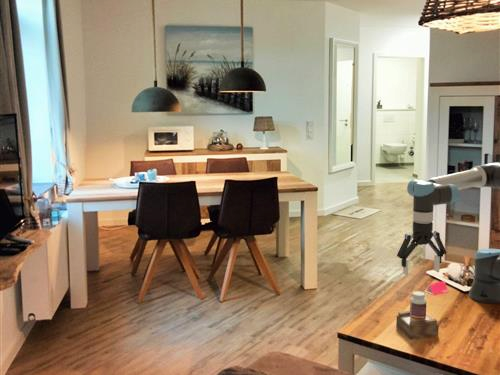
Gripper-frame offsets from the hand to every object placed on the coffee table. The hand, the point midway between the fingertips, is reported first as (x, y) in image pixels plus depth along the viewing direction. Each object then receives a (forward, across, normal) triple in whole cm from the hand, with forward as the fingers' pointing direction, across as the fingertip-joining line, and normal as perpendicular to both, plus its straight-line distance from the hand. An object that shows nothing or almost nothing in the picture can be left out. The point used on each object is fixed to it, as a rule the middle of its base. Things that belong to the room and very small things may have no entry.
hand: (421, 272), depth 216 cm
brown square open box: (+24, +2, +1) cm, 24 cm away
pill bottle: (+19, +2, +1) cm, 19 cm away
